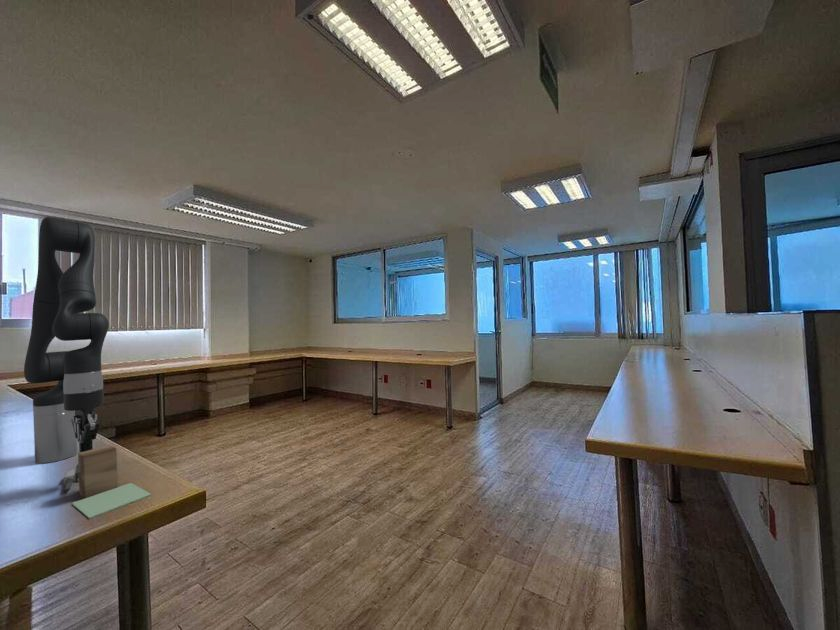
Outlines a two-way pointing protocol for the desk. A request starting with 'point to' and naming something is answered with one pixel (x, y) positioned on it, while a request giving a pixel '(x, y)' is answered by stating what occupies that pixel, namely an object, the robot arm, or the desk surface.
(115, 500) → the mat
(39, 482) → the desk surface
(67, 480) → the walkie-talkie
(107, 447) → the brown teal box
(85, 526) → the desk surface
